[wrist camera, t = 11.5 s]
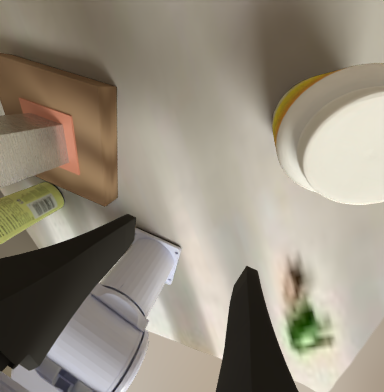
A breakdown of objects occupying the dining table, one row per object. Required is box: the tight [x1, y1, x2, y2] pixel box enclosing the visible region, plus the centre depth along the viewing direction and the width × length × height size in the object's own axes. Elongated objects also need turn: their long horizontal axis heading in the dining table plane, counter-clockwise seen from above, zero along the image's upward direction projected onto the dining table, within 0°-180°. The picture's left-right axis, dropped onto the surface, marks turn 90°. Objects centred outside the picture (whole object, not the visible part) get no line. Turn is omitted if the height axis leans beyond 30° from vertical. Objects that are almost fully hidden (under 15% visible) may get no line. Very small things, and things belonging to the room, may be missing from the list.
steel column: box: [0, 113, 69, 188], centre depth 18 cm, size 4×4×7 cm
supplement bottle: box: [272, 63, 384, 205], centre depth 10 cm, size 6×6×10 cm
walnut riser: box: [0, 53, 118, 206], centre depth 22 cm, size 14×14×3 cm
